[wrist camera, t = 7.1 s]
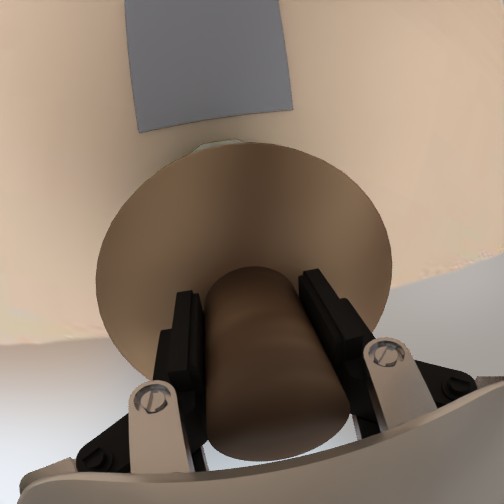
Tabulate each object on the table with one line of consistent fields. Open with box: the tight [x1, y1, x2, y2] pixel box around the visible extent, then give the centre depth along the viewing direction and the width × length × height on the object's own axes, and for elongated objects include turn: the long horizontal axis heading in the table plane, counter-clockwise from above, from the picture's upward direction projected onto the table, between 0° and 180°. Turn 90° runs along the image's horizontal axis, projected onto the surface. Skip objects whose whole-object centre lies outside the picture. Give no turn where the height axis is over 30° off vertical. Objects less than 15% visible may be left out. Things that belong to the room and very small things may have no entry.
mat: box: [125, 0, 293, 133], centre depth 19 cm, size 12×12×1 cm
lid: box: [96, 142, 392, 461], centre depth 9 cm, size 12×12×6 cm
